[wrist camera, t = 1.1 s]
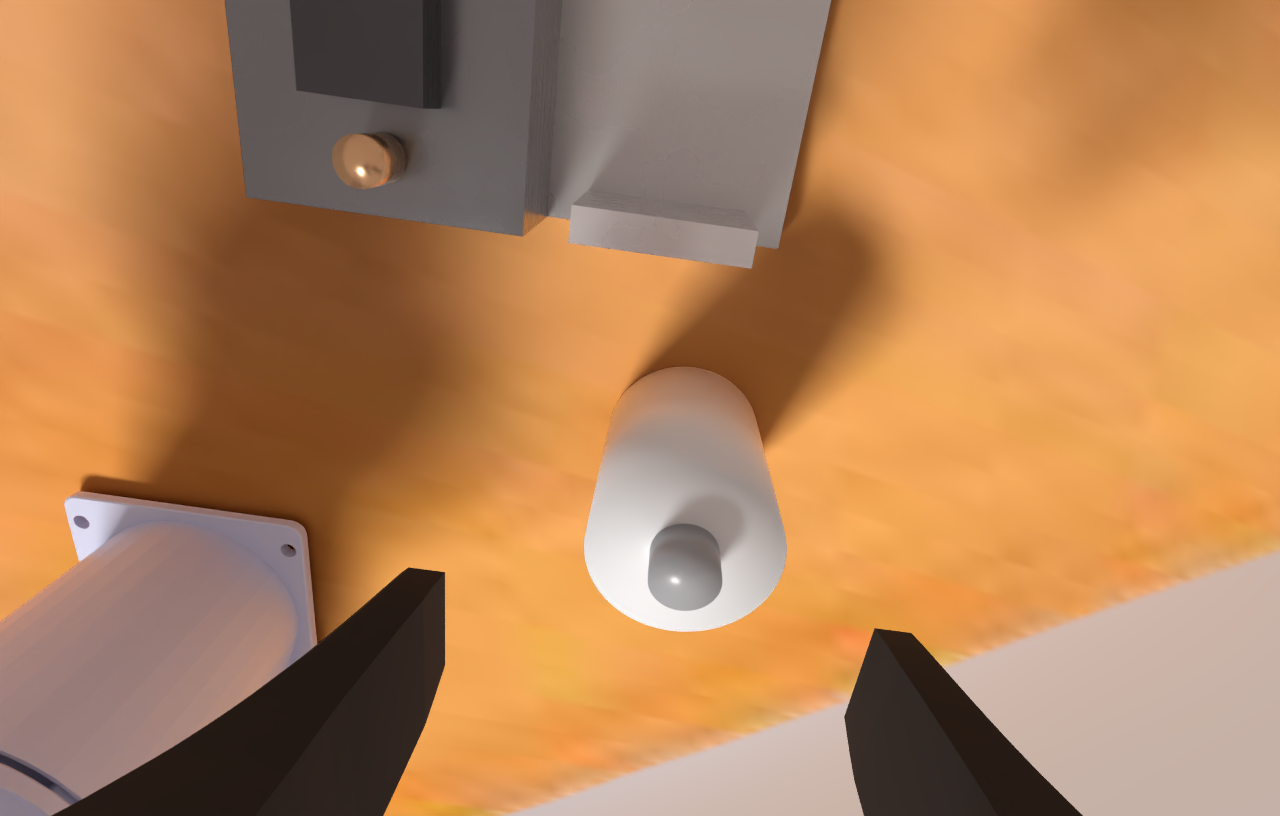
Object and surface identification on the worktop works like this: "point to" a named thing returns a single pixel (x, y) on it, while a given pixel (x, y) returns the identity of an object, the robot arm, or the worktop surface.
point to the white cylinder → (684, 505)
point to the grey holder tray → (534, 114)
